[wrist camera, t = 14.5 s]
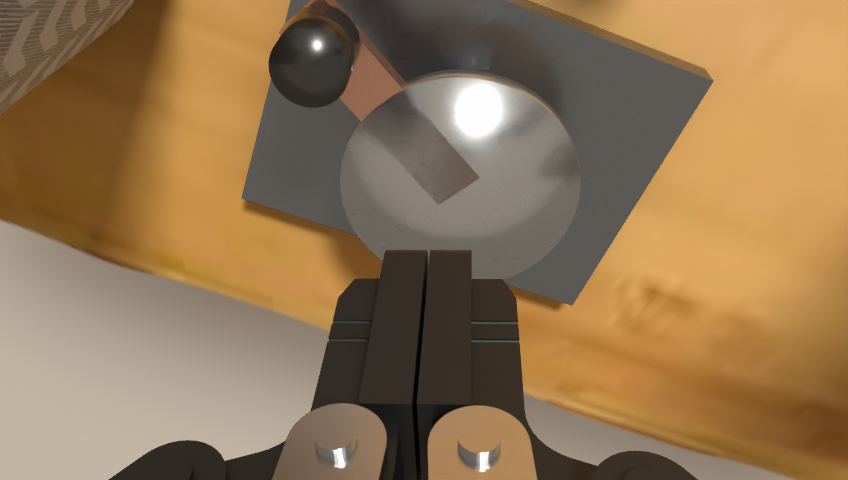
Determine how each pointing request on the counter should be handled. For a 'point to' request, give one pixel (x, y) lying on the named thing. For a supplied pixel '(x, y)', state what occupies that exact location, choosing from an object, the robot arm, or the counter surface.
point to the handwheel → (434, 149)
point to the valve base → (524, 63)
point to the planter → (47, 38)
